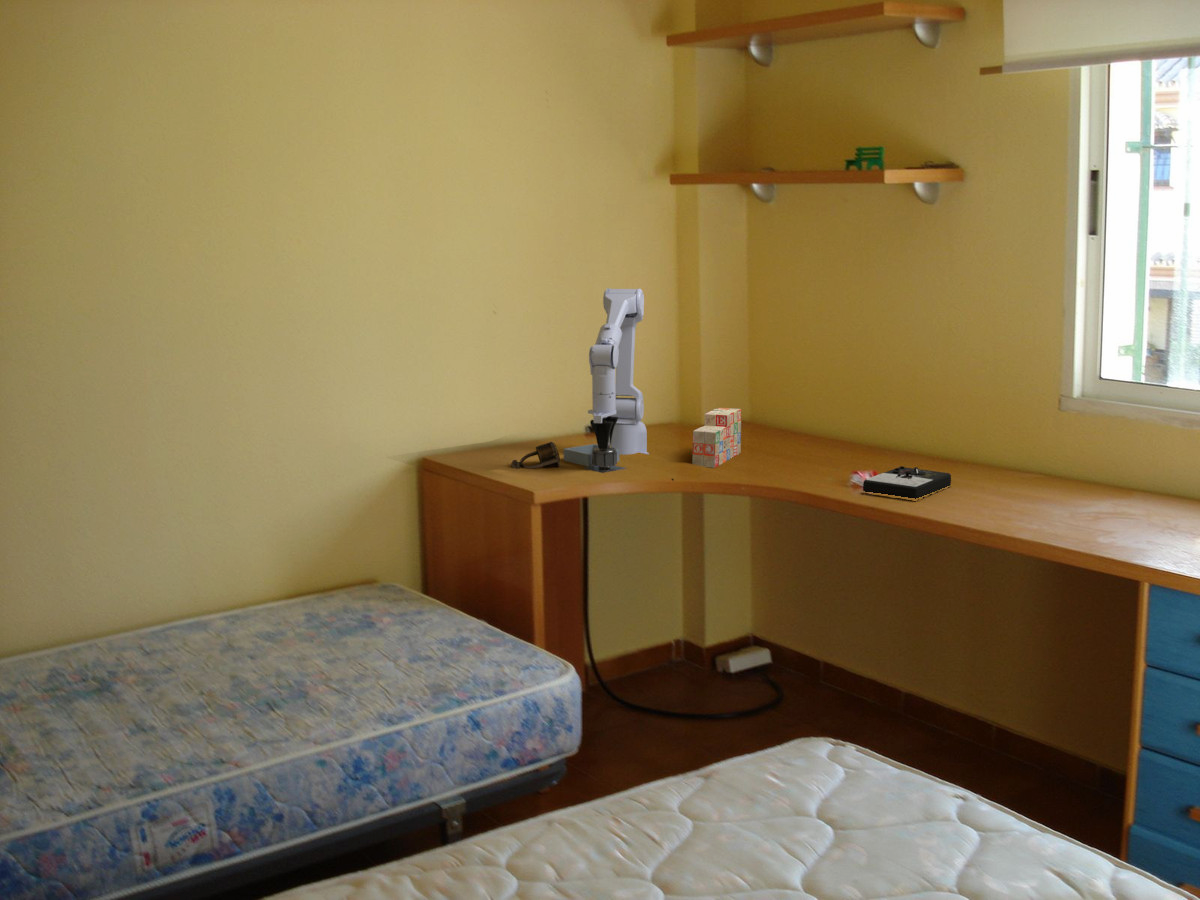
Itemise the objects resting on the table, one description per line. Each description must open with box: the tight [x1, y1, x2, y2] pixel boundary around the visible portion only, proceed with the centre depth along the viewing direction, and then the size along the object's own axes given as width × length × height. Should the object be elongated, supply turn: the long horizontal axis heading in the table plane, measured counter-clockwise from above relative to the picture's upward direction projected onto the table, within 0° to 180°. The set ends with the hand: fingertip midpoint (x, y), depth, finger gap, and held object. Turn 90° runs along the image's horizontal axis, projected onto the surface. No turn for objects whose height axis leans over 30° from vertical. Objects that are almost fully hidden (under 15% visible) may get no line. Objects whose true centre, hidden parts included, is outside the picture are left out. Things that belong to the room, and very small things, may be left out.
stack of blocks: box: [691, 407, 742, 469], centre depth 320 cm, size 21×6×12 cm, turn 156°
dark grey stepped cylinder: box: [592, 435, 618, 467], centre depth 306 cm, size 6×6×8 cm
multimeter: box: [862, 465, 952, 499], centre depth 284 cm, size 13×19×5 cm
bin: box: [563, 443, 620, 467], centre depth 316 cm, size 10×10×4 cm
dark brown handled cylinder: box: [510, 441, 562, 470], centre depth 310 cm, size 7×13×10 cm
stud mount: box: [583, 465, 628, 474], centre depth 307 cm, size 8×8×4 cm
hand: (604, 447), depth 306 cm, fingers closed on dark grey stepped cylinder, 3 cm apart
